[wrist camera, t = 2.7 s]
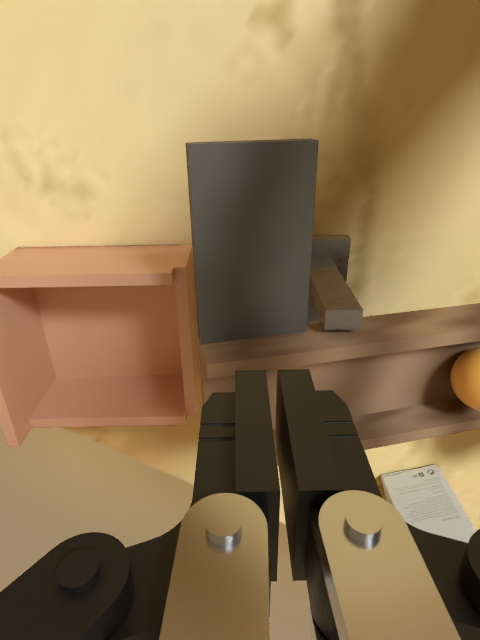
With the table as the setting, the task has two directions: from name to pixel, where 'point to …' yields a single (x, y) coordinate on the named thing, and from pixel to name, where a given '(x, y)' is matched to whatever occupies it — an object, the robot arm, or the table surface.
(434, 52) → the table surface
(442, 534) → the skincare box
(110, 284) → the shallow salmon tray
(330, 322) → the lever stand
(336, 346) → the lever trough
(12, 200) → the table surface
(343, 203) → the table surface
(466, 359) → the ball
